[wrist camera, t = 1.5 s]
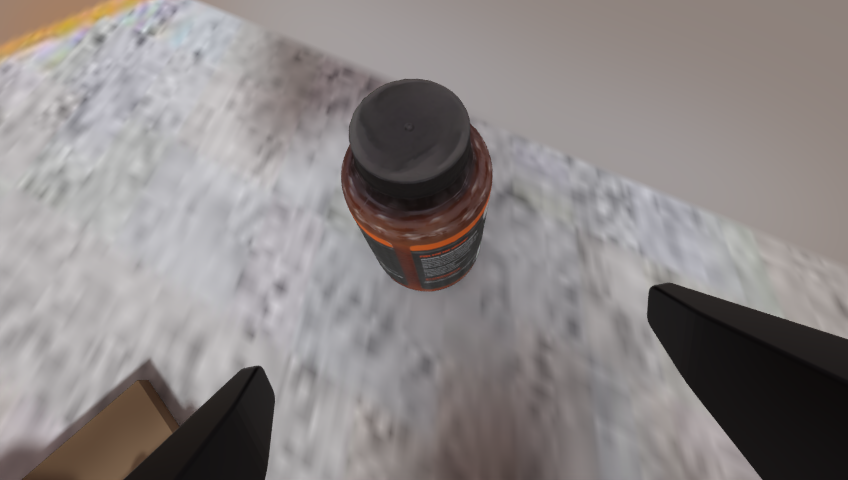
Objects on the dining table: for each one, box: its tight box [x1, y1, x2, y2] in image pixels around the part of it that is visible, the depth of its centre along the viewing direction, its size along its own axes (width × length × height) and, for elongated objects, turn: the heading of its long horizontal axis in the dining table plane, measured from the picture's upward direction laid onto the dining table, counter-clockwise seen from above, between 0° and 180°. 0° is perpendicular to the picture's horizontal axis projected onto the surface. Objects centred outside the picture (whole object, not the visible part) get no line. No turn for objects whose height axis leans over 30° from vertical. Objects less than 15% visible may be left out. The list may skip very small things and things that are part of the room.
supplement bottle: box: [341, 79, 492, 291], centre depth 18 cm, size 6×6×11 cm
